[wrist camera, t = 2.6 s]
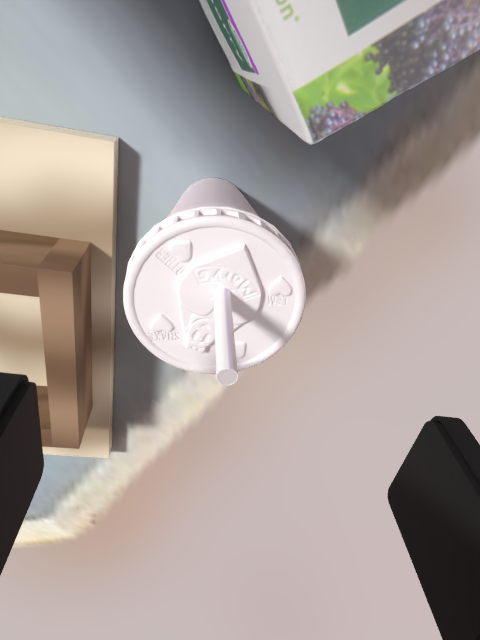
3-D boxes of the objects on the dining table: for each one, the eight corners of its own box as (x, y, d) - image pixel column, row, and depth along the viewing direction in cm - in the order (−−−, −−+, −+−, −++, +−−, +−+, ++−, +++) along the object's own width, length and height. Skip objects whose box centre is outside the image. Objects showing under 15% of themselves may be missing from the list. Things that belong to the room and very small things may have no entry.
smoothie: (293, 181, 22) (392, 335, 10) (242, 282, 25) (273, 490, 13) (176, 127, 20) (132, 237, 8) (137, 243, 23) (64, 443, 11)
